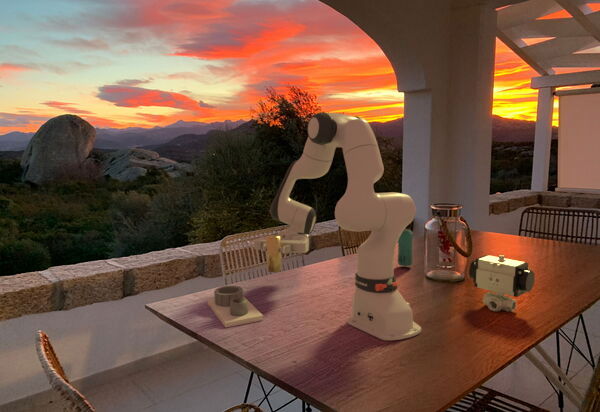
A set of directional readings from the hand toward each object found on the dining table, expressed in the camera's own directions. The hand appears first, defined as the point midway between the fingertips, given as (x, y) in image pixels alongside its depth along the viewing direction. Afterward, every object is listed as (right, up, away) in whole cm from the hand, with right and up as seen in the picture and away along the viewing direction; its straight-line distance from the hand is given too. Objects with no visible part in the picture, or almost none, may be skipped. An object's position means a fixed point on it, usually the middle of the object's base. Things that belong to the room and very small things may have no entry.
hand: (272, 249), depth 146 cm
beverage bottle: (+56, -12, +39) cm, 69 cm away
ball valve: (+74, -19, -9) cm, 77 cm away
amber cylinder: (0, -7, +2) cm, 8 cm away
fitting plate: (-12, -19, -8) cm, 24 cm away
